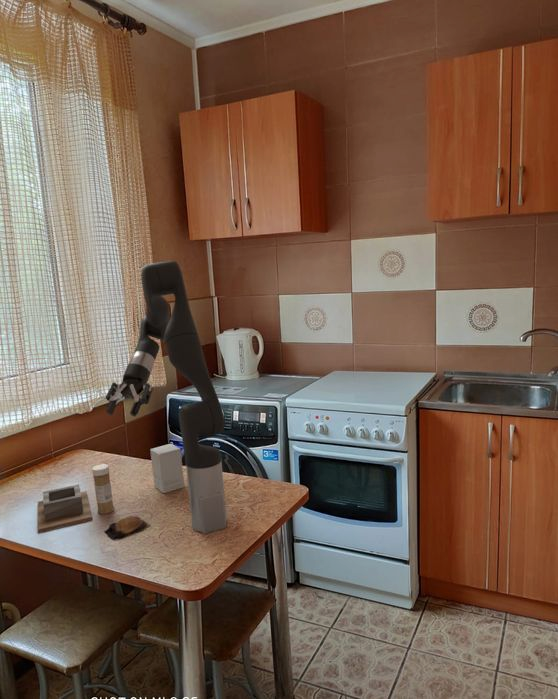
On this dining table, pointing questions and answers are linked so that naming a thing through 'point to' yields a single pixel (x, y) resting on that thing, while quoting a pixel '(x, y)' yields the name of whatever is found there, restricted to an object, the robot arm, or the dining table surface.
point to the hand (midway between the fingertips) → (120, 414)
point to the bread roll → (126, 527)
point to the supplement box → (167, 468)
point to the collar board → (63, 508)
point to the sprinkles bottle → (103, 488)
